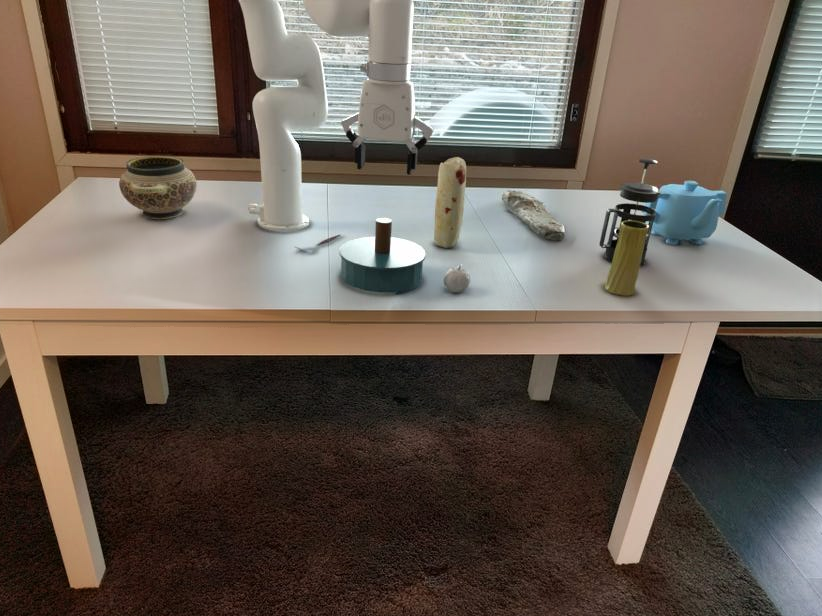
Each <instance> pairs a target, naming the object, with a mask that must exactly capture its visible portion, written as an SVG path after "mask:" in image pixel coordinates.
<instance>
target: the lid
mask: <svg viewBox="0 0 822 616" xmlns="http://www.w3.org/2000/svg"><path fill="white" fill-rule="evenodd" d="M392 224H393V220H392V219H390V218H388V217H378V218H376V219H375V230H374V231H375V232H374V236H365V237H364V236H363V237H359V238H355V239H351V240H348V241H346V242H345V243H343V244H342V245H340V247H339V250H338V254H339V256H340V259H341V258H342V259H343V260H345V261H346V262H348V263H350V264H352V265H355V266H358V267H362V268H367V269H374V270H399V269H406V268H410V267H413V266H416V265H418V264H420V263H422V262H423V263H424V261H425V259H426V256H427V255H426V254H427V253H426V250H425V249H424V248H423V247H422V246H421V245H419V244H417V243H416V242H413V241H410V240H408V239H403V238H398V237H393V236H392V226H393V225H392Z"/></svg>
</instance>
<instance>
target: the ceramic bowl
mask: <svg viewBox="0 0 822 616" xmlns="http://www.w3.org/2000/svg"><path fill="white" fill-rule="evenodd" d="M125 165H126V171H124V172H123V173H122V174H121V176H120V178H119V181H118V186H119V189H120V193H121V194H122V196H123V198H124V199H125V200H126V201H127V202H128V204H130V205H132V206H133V207H135V208H137V209H138V210H141V211H142V215H143V216H144V217H146V218H147V219H152V220H167V219H172V218H176V217H177V218H178V217H179V216H180V215H182V214H183V209H182V208H185V207H186V206H187V205H188V204H189V203H190V202H191V201H192V199H194V196H195V194H196V191H197V184H198V183H197V179H196V177H195V175H194V172H192V171H191V170H190V169H189V168H187V167H185V161H184V160H183V159H182V158H180V157H176V156H169V155H151V156H149V155H148V156H142V157H136V158H132V159H129V160H128V161H126V163H125Z"/></svg>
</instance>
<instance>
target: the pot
mask: <svg viewBox="0 0 822 616" xmlns="http://www.w3.org/2000/svg"><path fill="white" fill-rule="evenodd" d="M423 266H424V261H423V262H422V263H420V264H418V265H416V266H413V267H410V268H406V269H399V270H374V269H367V268H362V267H358V266H355V265H352V264H350V263H348V262H346V261H345V260H343V259H342V258H341V257H340V269H341V270H340V275H341V276H340V277H341V279H342V281H344V283H345V284H347V285H349V286H350V287H352V288H355V289H358V290H360V291H361V290H362V291H364V292H365V291H366V292H372V293H395V295H400V294H405V293H408V292H411V291H413V290H415V289H416V288H418V287H419V286H420V285H421V282H422V279H423Z"/></svg>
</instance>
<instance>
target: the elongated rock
mask: <svg viewBox="0 0 822 616" xmlns="http://www.w3.org/2000/svg"><path fill="white" fill-rule="evenodd" d="M501 200H502V201H503V203H504V204H505V206H506V207H507V208H508V209H507V211H508V212H511V214H512V213H513V214H514V216H516V217H517V218H520V220H521V221H522V223H525V224H526V225H527V226H528V227H529V228H530V229H531V230H532V231H533V232H534V234H537V235H538V236H540V237H542V238H544V239H547V240H553V241H561V240H564V238H565V234H566V233H565V226H564V225H563V223H561V222H560V221H559V220H558V219H557V217H555V215H553V214H551V213H552V212H550V211H549V210H548V209H547V208H546V205H545V204H544V202H543V201H540V200H539V199H537V198H535V196H531V195H529V194H527V193H525V192H523V191H520V190H514V189H508V190H507V189H506V190H505V191H503V192H502V194H501Z"/></svg>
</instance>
